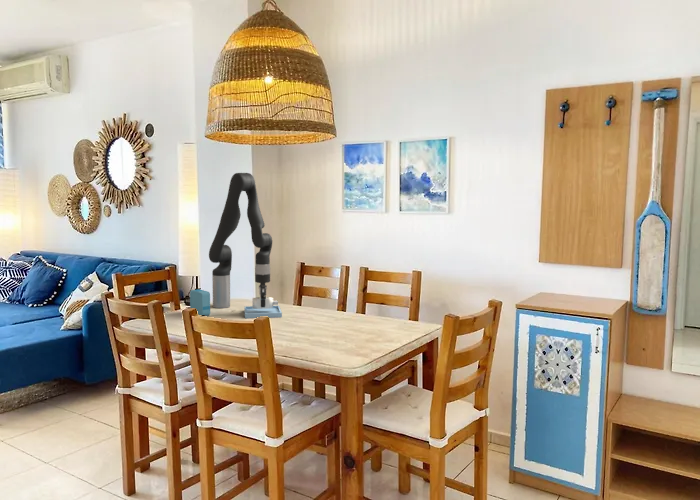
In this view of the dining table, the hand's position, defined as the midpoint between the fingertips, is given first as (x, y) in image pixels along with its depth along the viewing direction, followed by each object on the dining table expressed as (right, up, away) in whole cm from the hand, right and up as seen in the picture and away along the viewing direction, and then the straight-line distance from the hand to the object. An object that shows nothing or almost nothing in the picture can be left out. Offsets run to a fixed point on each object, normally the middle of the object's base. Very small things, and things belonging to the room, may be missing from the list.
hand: (262, 305), depth 276 cm
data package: (-31, -4, -3) cm, 32 cm away
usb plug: (+1, -1, 0) cm, 2 cm away
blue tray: (0, -4, +1) cm, 4 cm away
